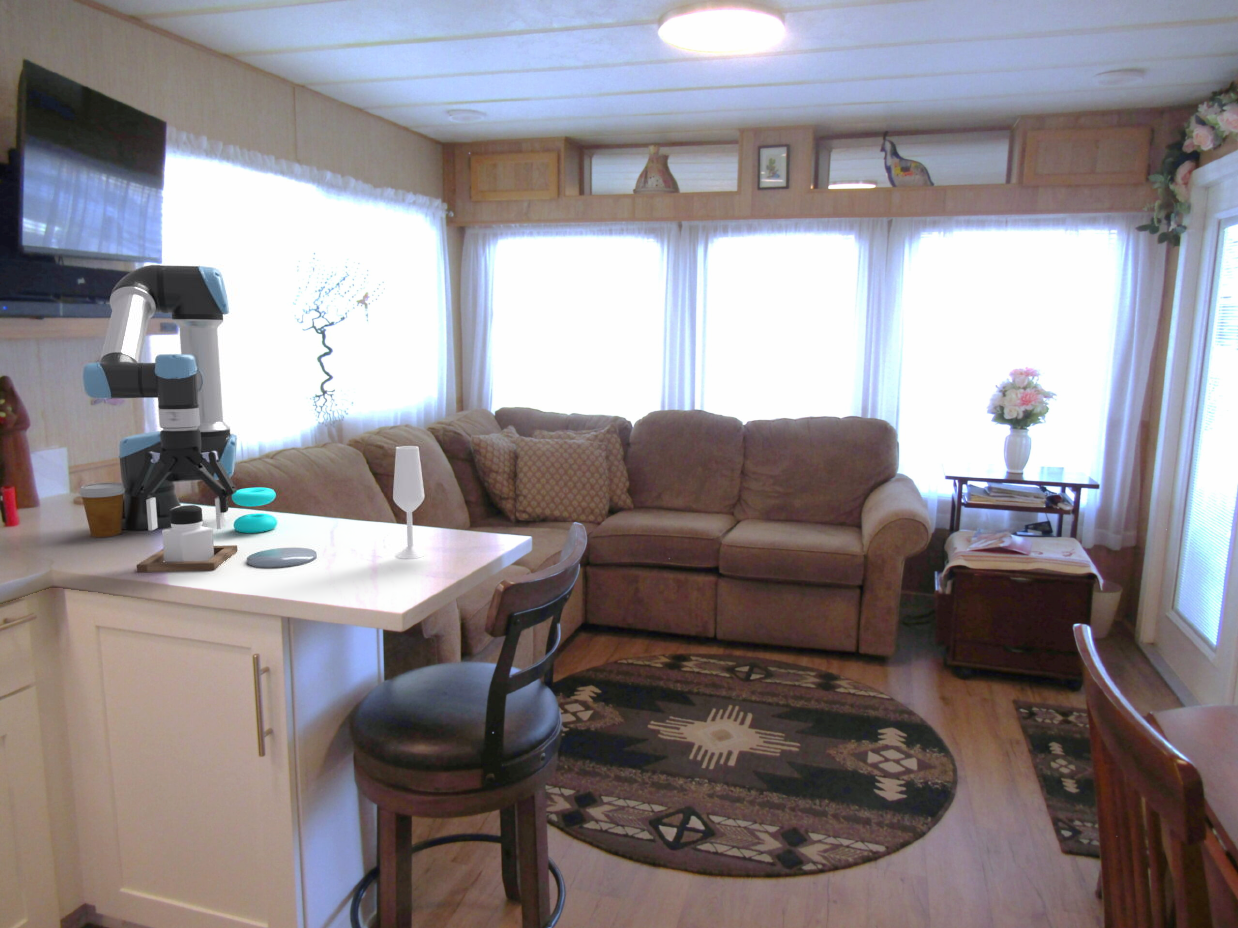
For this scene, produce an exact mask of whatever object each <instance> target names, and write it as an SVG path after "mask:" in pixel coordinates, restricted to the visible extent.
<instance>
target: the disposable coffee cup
mask: <svg viewBox="0 0 1238 928" xmlns="http://www.w3.org/2000/svg"><path fill="white" fill-rule="evenodd" d="M124 492H125V488H124V487H123V484H122V482H96V483H95V482H94V483H90V484H84V485H82V486H80V490H79V492H78V493H79V495H80V497H81V499H82V503H83V506H84V507H83V508H84V511H85V515H86V520H87V523H88V527H89V533H90V536H91V537H94V538H106V537H107V538H108V537H114V536H118V535H120V534H122V530H123V529H122V512H123V495H124Z"/></svg>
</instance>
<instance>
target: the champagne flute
mask: <svg viewBox="0 0 1238 928" xmlns="http://www.w3.org/2000/svg"><path fill="white" fill-rule="evenodd" d="M394 457H395V461H394V475H393V476H394V477H393V493H392V499H393V502H394V503H395V504H396V506H397V507H399V508H400V509H401V510H402V511H403V512H406V536H407V539H406V540H407V541H406V543H407V546H406V547H405V548H403V549H402V550H400V551H399V552H397V553H396V554H394V556H395V557H396V558H397V559H403V560H409V559H410V560H413V559H419V558H422V557H425V556H426V555H427V554H426V552H424V551H423V550H421V549H419V548H417V547H416V546H414V534H413V512H415V510H417V508H419V507H420V506H421V505H422V503H423V501H424V500H425V491H424V481H423V474H422V464H421V456H420V449H419V446H416V445H415V446H414V445H403V446H396V447H395V456H394Z"/></svg>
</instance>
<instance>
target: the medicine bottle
mask: <svg viewBox="0 0 1238 928" xmlns="http://www.w3.org/2000/svg"><path fill="white" fill-rule="evenodd" d="M170 520H171V526H170V528H168V529H167V528H166V529H162V531H161V536H162V538H161V539H162V549H163V552H164V561H163V562H177V561H208V560H209V559H210V558H212V557H213V556H214V546H215V545H214V531H213V528H212V527H207V526H202V525H203V524H204V522H203V508H202V507H201V506H198V505H195V504H185V505H183V504H182V505H181V506H177V507H175V508H173V509H171V510H170Z"/></svg>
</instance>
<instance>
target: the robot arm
mask: <svg viewBox="0 0 1238 928" xmlns="http://www.w3.org/2000/svg"><path fill="white" fill-rule="evenodd" d="M225 285H226V284H225V282H224V278H223V275H222V273H221V271H220V270H219V269H218V268H216V267H210V266H203V265H191V266H190V265H160V264H150V265H145V266H142V267H139V268H136V269H134V270H132V271H131V272H129V273H127V274H126V275H125V276H123V277H122V278H121V279H120V280H119V281H118V282H117V283H116V284H115V286H114V287H113V289H112V291H111V294H110V296H109V297H110V298H109V306H110V309H111V310H112V311H111V315H110V319H109V323H108V326H107V330H106V335H105V340H104V343H103V348H102V351H101V354H100V355H101V356H100V358H99V362H98V361H96V362H92V363H91V362H89V363H86V364H85V365H84V367H83V370H82V381H83V382H82V383H83V388H84V392H85V393H86V395H87V396H88V397H89V398H91V399H92V398H93V399H107V400H112V399H139V398H140V399H144V398H145V399H152V398H154V399H156V398H157V403H158V405H157V406H158V407H157V408H158V409H157V411H158V423H159V427H160V429H162V430H160V431H159V430H158V431H151V432H149V431H148V432H144V433H139V434H138V433H137V434H133V435H129V436H126V437H124V438H122V439H121V440H120V441H119V444H118V446H119V448H118V451H119V455H118V459H119V465H120V475H121V483H122V484H123V487H124V488H125V492H124V495H123V512H122V529H121V530H129V531H131V530H132V531H133V530H136V531H137V530H138V531H139V530H141V531H143V530H148V531H154V530H156V529H162V528H168V527H171V520H170V510H171V509H173V508H175V507H177V506H182V505H181V503H180V500H179V498H178V496H177V495H178V494H176V489H175V486H176V485H175V483H178V482H179V483H180V482H182V483H183V482H195V481H196V482H198V481H199V482H201V481H202V482H204V483H205V484H206V485H207V487H209V488H210V490H211V491H213V492H214V494H215V495H216V496H217V497H216V498H214V504H215V505H214V506H215V521H216V530H221V529H222V528H224V527H226V525H225V513H227V512H229V496H232V494H234V493H236V492H237V490H238V489H237V487H236V485H234V483H233V481H232V479H231V477H232V476H233V474H234V471H235V465H236V456H237V448H238V447H237V445H238V444H237V443H238V441H237V440H238V436H237V435H236V434H234V433H231V427H230V426H229V425H228V424H226V422H224V415H223V413H224V412H223V398H222V384H221V371H220V369H221V368H220V353H219V338H218V337H219V336H218V328H219V327H220V325H222V323H223V322H224V315H228V314H229V313H230V308H229V300H228V295H227V289H226V286H225ZM159 313H160V314H161V313H162V314H171V321H172V322H173V323H174V324H175V325H176V326H177V327H178V329H179V343H180V353H181V354H180V353H175V354H174V353H173V354H172V353H170V354H169V353H168V354H167V353H166V354H157V355H156V356H155V358H154V359H155V360H154V362H141V361H142V356H143V351H144V346H145V342H146V336H147V331H148V326H149V320H150V319H151V318H153V316H154V315H155V314H159ZM219 481H220V482H219Z"/></svg>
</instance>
